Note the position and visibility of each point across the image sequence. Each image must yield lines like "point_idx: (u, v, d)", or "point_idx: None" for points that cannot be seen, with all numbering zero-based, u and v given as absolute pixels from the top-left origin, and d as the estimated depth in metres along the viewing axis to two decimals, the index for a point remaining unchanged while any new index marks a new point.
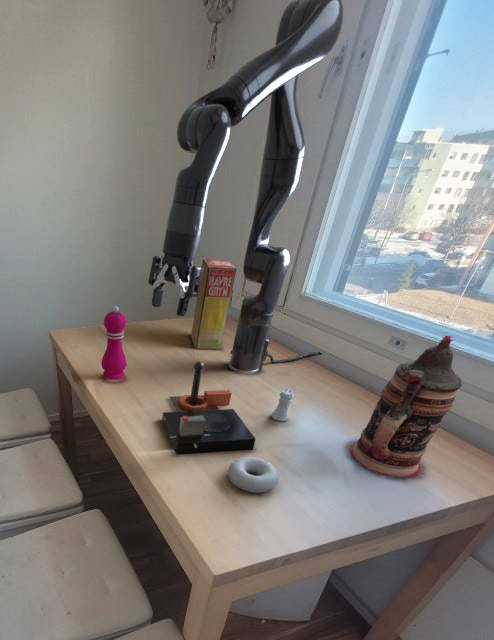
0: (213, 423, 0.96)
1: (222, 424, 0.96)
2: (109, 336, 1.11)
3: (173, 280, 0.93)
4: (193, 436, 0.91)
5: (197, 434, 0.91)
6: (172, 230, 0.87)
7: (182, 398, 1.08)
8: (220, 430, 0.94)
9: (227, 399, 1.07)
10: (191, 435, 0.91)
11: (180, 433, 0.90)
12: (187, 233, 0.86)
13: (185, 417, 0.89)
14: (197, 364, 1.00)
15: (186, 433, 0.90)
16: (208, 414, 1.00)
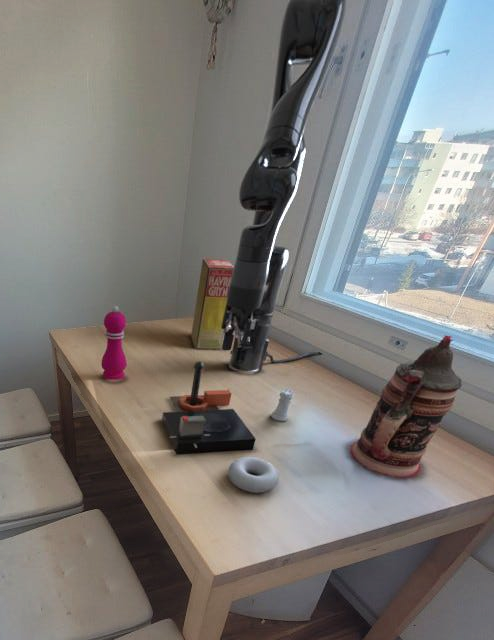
0: (213, 423, 0.96)
1: (222, 424, 0.96)
2: (109, 336, 1.11)
3: None
4: (193, 436, 0.91)
5: (197, 434, 0.91)
6: (232, 284, 0.90)
7: (182, 398, 1.08)
8: (220, 430, 0.94)
9: (227, 399, 1.07)
10: (191, 435, 0.91)
11: (180, 433, 0.90)
12: (244, 288, 0.88)
13: (185, 417, 0.89)
14: (197, 364, 1.00)
15: (186, 433, 0.90)
16: (208, 414, 1.00)
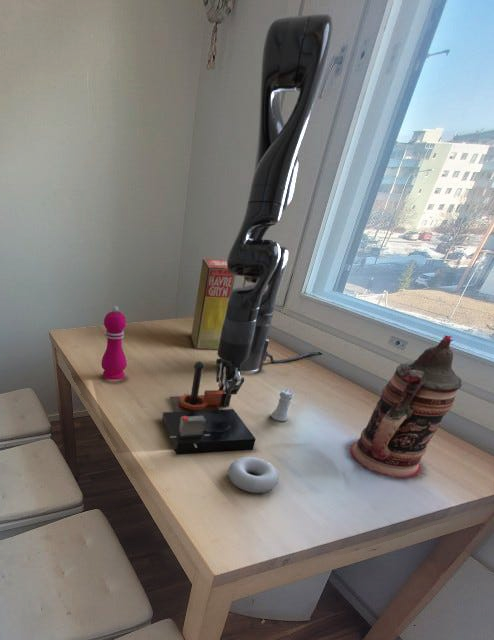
0: (213, 423, 0.96)
1: (222, 424, 0.96)
2: (109, 336, 1.11)
3: None
4: (193, 436, 0.91)
5: (197, 434, 0.91)
6: (222, 339, 0.97)
7: (182, 397, 1.08)
8: (220, 430, 0.94)
9: None
10: (191, 435, 0.91)
11: (180, 433, 0.90)
12: (233, 343, 0.96)
13: (185, 417, 0.89)
14: (197, 364, 1.00)
15: (186, 433, 0.90)
16: (208, 414, 1.00)
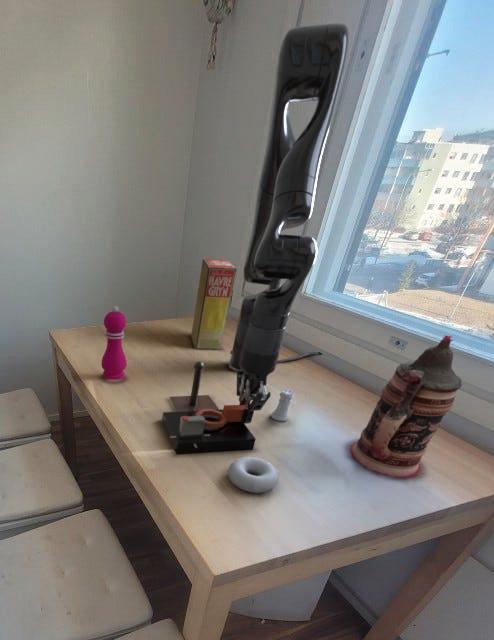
0: None
1: None
2: (109, 336, 1.11)
3: None
4: (193, 436, 0.91)
5: (197, 434, 0.91)
6: (245, 349, 0.86)
7: (199, 413, 0.97)
8: (220, 430, 0.94)
9: None
10: (191, 435, 0.91)
11: (180, 433, 0.90)
12: (259, 354, 0.84)
13: (185, 417, 0.89)
14: (197, 364, 1.00)
15: (186, 433, 0.90)
16: None
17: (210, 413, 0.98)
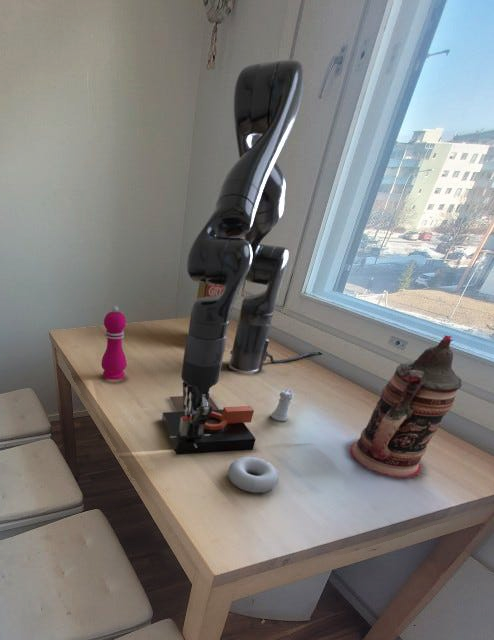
0: (213, 423, 0.96)
1: None
2: (109, 336, 1.11)
3: None
4: None
5: None
6: (185, 360, 0.80)
7: None
8: (220, 430, 0.94)
9: (249, 417, 0.96)
10: None
11: (180, 433, 0.90)
12: (198, 365, 0.78)
13: (185, 417, 0.89)
14: None
15: (186, 433, 0.90)
16: None
17: (210, 415, 0.99)
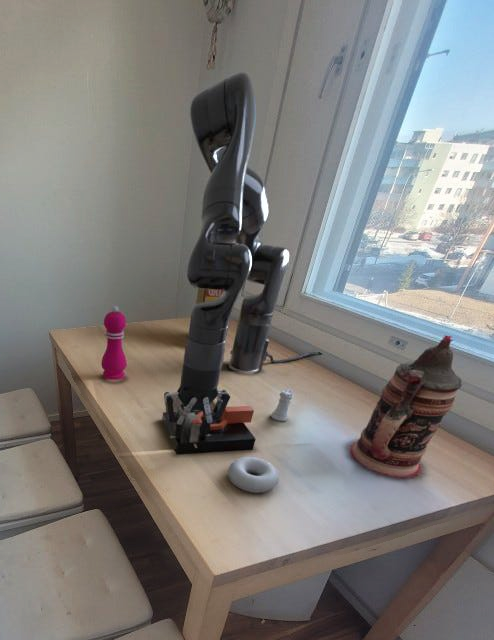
0: (213, 423, 0.96)
1: None
2: (109, 336, 1.11)
3: (201, 408, 0.86)
4: None
5: None
6: (210, 370, 0.78)
7: (198, 415, 0.97)
8: (220, 430, 0.94)
9: (249, 417, 0.96)
10: None
11: (197, 437, 0.89)
12: (221, 366, 0.80)
13: (195, 421, 0.87)
14: None
15: None
16: None
17: None
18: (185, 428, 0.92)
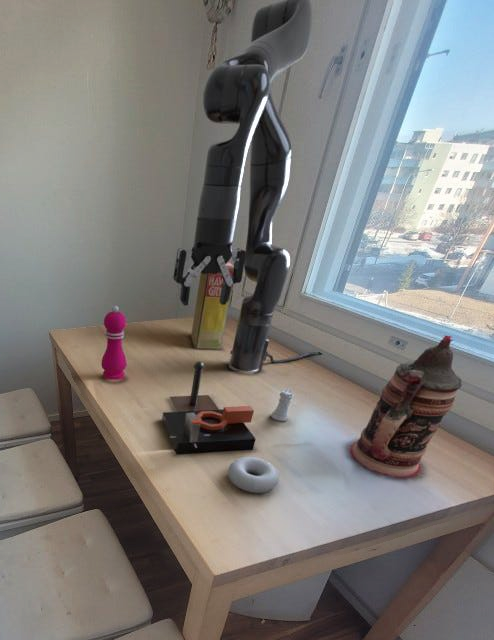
0: (213, 423, 0.96)
1: None
2: (109, 336, 1.11)
3: (214, 271, 0.85)
4: None
5: None
6: (225, 218, 0.77)
7: (198, 415, 0.97)
8: (220, 430, 0.94)
9: (249, 417, 0.96)
10: None
11: (197, 437, 0.89)
12: (236, 218, 0.79)
13: (195, 421, 0.87)
14: (197, 364, 1.00)
15: None
16: None
17: (210, 415, 0.99)
18: (185, 428, 0.92)
